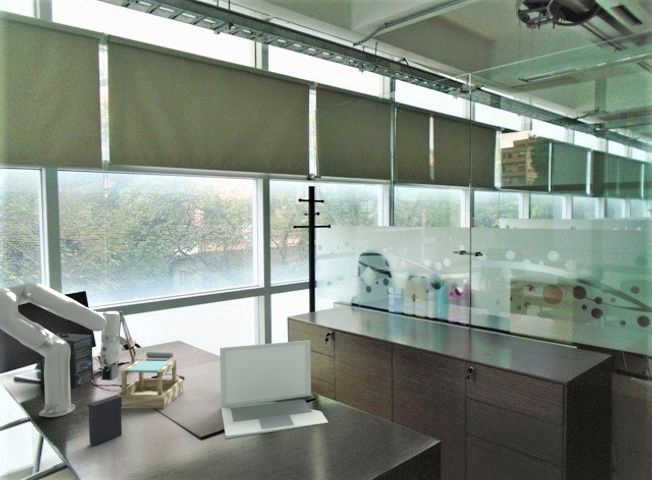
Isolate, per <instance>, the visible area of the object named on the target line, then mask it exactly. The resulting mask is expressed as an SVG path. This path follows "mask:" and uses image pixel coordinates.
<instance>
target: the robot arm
mask: <svg viewBox="0 0 652 480" xmlns="http://www.w3.org/2000/svg"><path fill="white" fill-rule="evenodd" d="M27 303H31V304H33V305H34V306H37V307H39V308H42V309H43V310H46V311H47V312H50V313H52V314H54V315H56V316H57V317H60V318H63V319H65V320H68V321H71V322H73V323H76V324H78V325H80V326H83V327H84V328H87V329H89V330H90V331H93V332H101V339H100V340H101V345H100V351H101V354H100V362H99V367H100V369H101V368H102V370H101V372H102V371H103V379H105V380H104V381H110V380H109V379H110V371H109V368H110V365H111V364H118V362H119V361H120V360H121V356H122V355H121V342H120V323H121V321H120V320H121V315H120V311H118V310H107V311H95V310H94V309H91V308H89V307H86V306H85V305H83V304H82V303H80V302H78V301H77V300H74V299H73V298H71V297H69V296H66V295H65V294H63V293H61V292H59V291H57V290H55V289H53V288H51V287H49V286H48V285H45V284H44V283H43V284H42V283H40V282H37V281H35V282H34V281H33V282H27V283H22V284H18V285H17V284H16V285H13V286H6V287H2V288H0V330H1V331H3V332H4V333H6V334H7V335H9V336H11V337H12V338H14V339H15V340H17V341H18V342H19V343H20V344H22V345H23V346H25V347H28V348H29V349H31V350H33V351H34V352H36V353H38V354H41V355H43V356H44V357H45V364H44V383H45V384H44V400H45V401H44V408H43V409H42V410H40V411H39V412H38V416H40V417H43V418H44V417H45V418H56V417H58V418H59V417H61V416H65V415H68V414H71V413H72V412H73V411H75V410H76V405H75V404H74V403H72V401H71V400H72V399H71V393H72V392H71V388H70V354H71V350H70V346H69V344H68V343H67V342H66V341H65V340H63V339H61V338H60V337H58V336H56V335H54V334H55V333H53V332H51V331H49V329H47V328H45V327H44V326H42V325H41V324H39V323H37V322H34V321H32V320H30V319H29V318H27V317H26V316H24V315H23V314H21V313H20V311H19V306H21V305H23V304H27ZM106 362H107V364H105V363H106ZM100 363H101V364H100ZM105 365H107V367H106V366H105Z"/></svg>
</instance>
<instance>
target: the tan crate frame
mask: <svg viewBox="0 0 652 480" xmlns="http://www.w3.org/2000/svg"><path fill="white" fill-rule="evenodd" d="M142 360H144V359H142V358H140V359H138V360H136V361H135V362H133V363H132V364H130V365H129V366H128V367H126V368H124V369H123V370H121V373H120V374H121V390H120V391H118V392H117V393H116V394H115V395H117V396H120V397H121V398H122V407H121V409H165V408H166V407H167V406H168V405H169V404H170V403H171V402H173V401H172V400H173V399H174V398H175V397H176V396H177V395H178V394H179V393H180V392H181V391H182V390H183V391H184V379H183V378H178V377H177V359H172V360H170V361H171V362H169V363H168V364H167V365H165V366H164V367H163V368H161V369H160V370H159V371H158V372H157V373H156V376H157V377H156V378H155V377H154V378H152V377H151V378H145V376H144V374H145V373H141V372H138V378H136V379H135V380H134V381H133V382H131V383H130V384H127V379H128V377H127V376H129V375H130V374H131V373H132V372H127V370H128V369H130V368H131V367H133V366H134V365H136V364H137V363H139V362H140V361H142ZM170 370H171V378H163V376H165V375H166V374H168V372H169V371H170Z"/></svg>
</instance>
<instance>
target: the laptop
mask: <svg viewBox="0 0 652 480" xmlns="http://www.w3.org/2000/svg"><path fill="white" fill-rule="evenodd" d="M311 353H312V352H311V340H310V339H307V340H298V341H287V342H286V341H285V342H276V343H274V342H273V343H264V344H263V343H262V344H250V345H240V346H239V345H237V346H227V347H226V346H223V347H219V356H220V357H219V359H220V362H219V364H220V367H219V369H220V407H221V414H222V416H221V417H222V421H223V429H224V434H225V439H232V438H238V437H243V436H251V435H255V434H256V435H260V434H266V433H267V434H268V433H271V432H272V433H273V432H279V431H285V430H286V431H287V430H291V429H297V428H305V427H310V426H317V425H323V424H328V423H329V421H328V420H327V418H326V417H325V415H324V413H323V412H322V410H321V411H320V410H317V409H312V408H311V407H310V405H308V403H307V401H306V400H305V399H297V398H304V397H310V396H312V377H311V376H312V375H311V374H312V370H311V369H312V367H311V363H312V362H311V361H312V360H311V358H312V356H311V355H312V354H311ZM288 399H289V400H288ZM290 399H295V400H290ZM281 400H282V401H281ZM283 400H287V401H283ZM277 401H278V402H277Z"/></svg>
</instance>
